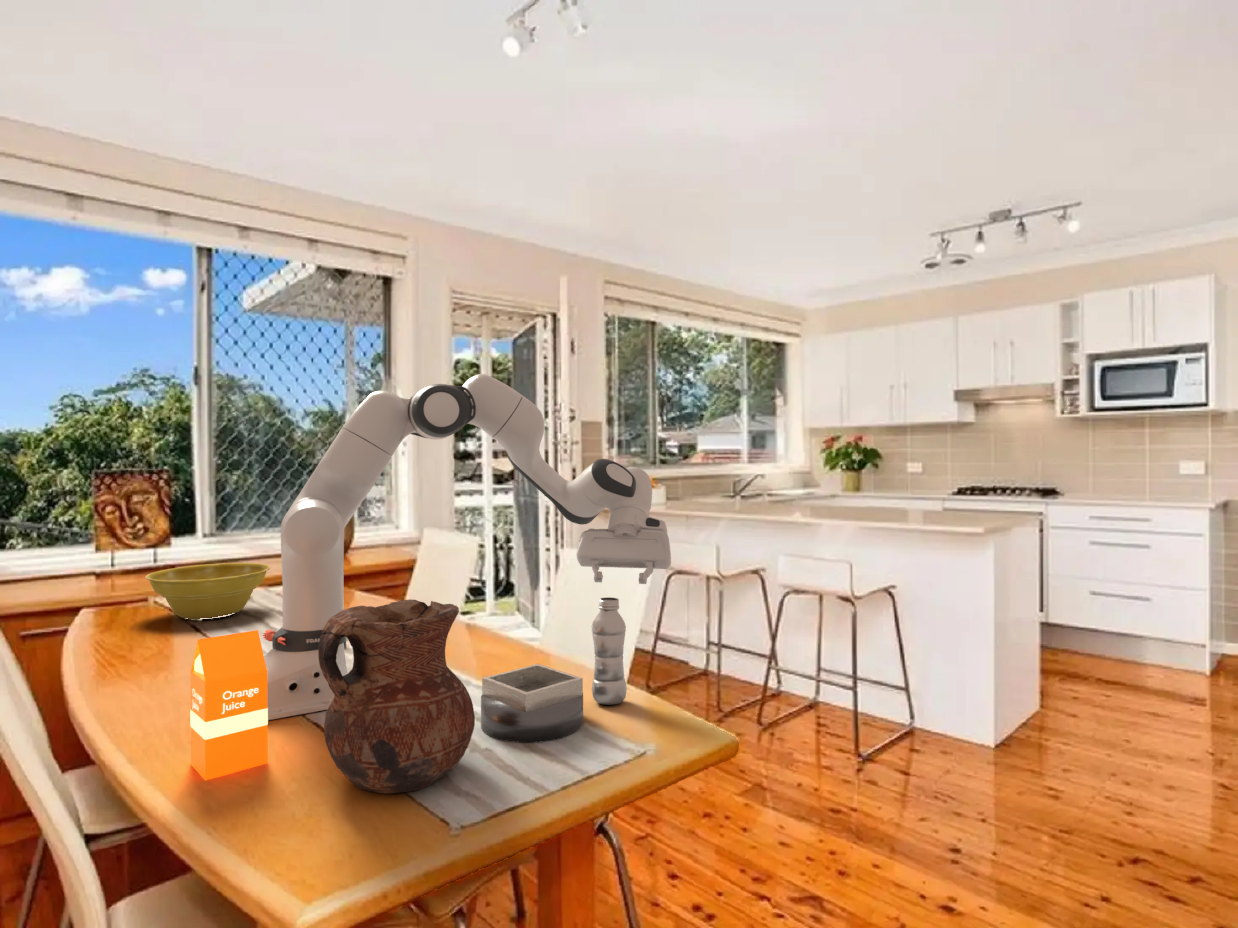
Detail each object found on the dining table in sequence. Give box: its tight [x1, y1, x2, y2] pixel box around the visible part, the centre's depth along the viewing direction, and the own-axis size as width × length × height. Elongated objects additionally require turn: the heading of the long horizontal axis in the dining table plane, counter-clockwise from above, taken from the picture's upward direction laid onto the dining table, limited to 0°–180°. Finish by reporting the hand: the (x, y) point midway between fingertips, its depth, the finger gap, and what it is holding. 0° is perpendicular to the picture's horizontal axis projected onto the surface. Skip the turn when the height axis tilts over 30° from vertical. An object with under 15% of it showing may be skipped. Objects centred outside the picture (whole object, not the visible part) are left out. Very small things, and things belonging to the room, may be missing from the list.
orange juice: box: [189, 629, 269, 781], centre depth 113 cm, size 8×9×20 cm
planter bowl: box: [144, 562, 271, 619], centre depth 217 cm, size 32×32×13 cm
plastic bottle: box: [591, 596, 628, 706], centre depth 141 cm, size 6×7×20 cm
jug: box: [318, 599, 476, 794], centre depth 110 cm, size 22×21×25 cm
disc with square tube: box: [480, 663, 584, 744], centre depth 132 cm, size 18×20×8 cm
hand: (619, 581), depth 153 cm, fingers open, 8 cm apart
